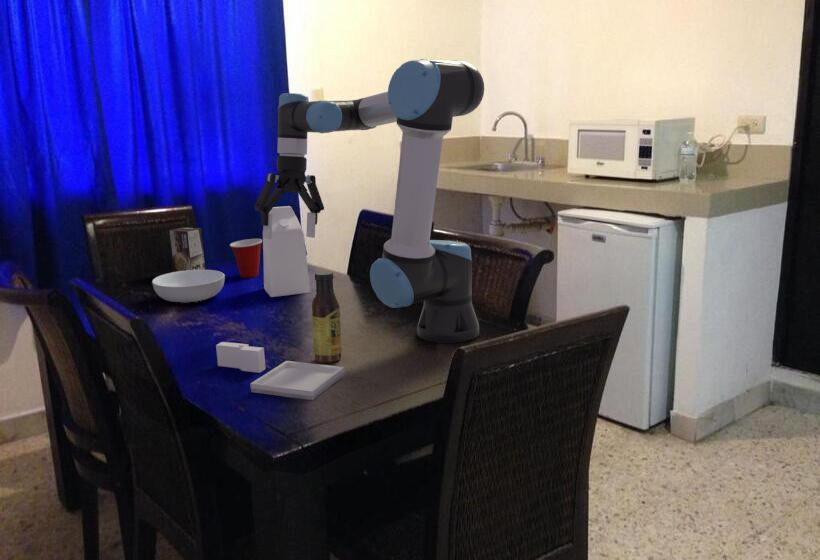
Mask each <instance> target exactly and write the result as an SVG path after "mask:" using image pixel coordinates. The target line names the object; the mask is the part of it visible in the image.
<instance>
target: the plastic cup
mask: <svg viewBox="0 0 820 560" xmlns="http://www.w3.org/2000/svg"><path fill="white" fill-rule="evenodd" d="M262 244H263V239H261V238H250V239H241V240H236V241H234V242H231V243H230V244H229V246H230V247H231V249H232V251H233V254H234V257H235V261H236V264H237V268H238V271H239V275H240V277H241V278H243V279H252V278H256V277H258V276H259V270H260V262H261V261H260V260H261V249H262Z"/></svg>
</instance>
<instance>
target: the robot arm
mask: <svg viewBox="0 0 820 560" xmlns="http://www.w3.org/2000/svg"><path fill="white" fill-rule="evenodd" d="M388 83H389V84H388V88H387V91H384V92H380V93H377V94H374V95H369V96H366V97H362V98H358V99H351V100H316V101H315V100H314V101H312V100H311V101H310V100H309V96H308V95H306V94H303V93H292V92H291V93H287V92H285V93H281V94H280V96H279V98H278V100H279V101H278V107H277V121H278V122H277V153H278V154H279V155H277V157H276V171H277V175H276V174H274V173H266V177H265V183H264V185H263V187H262V189H261V192H260V193H259V196H258V197H257V200H256V203H255V204H254V210H255V211H258V212H260V213H261V215H260V216H261V218H260V223H261V226H263V227H262V228H263V229H262V239H263V238H265V239H272V213H269V212H270V211H271V209H272V208H273V207H275V205H276V204H277V203H278V202H279V200H280V198H281V197H282V196H283V195H284V194H285V193H286V192H287V193H298V195H299V197H300V199H302V202H304V204H305V205H306V208H307V209H308V210H309V211H308V212H307V213H306V236H305V237H308V238H312V239H313V238H315V237H316V225H317V224H318V214H320V213H321V211H324V210H325V206H324V203H323V201H322V198H321V194H320V191H319V189H318V186H317V183H316V176H315V175H314V174H313V175H312V174H307V175H306V171H307V161H308V160H307V159H308V158H307V157H306V155H308V133H319V134H330V133H333V132H345V131H368V130H371V129H375V128H377V127H379V126H384V125H388V124H392V123H396V125H397V127H399V130H400V131H401V132H402V136H401V143H400V144H401V145H400V155H399V164H398V172H397V182H396V183H397V184H396V191H395V192H396V193H395V199H394V200H395V202H394V209H393V220H392V226H391V227H392V229H391V238H389V239H388V240H387V241H385V243H384V244H383V247H382V248H383V249H382V257H381V258H380V257H379V258H377V260H375V261H374V262H373V263H372V264H371V266H370V271H369V277H370V278H369V279H370V284H371V287H372V289H373V291H374V293H375V295H376V297H377V298H378V300H379V301H381V302H382V304H385V306H387V307H390V308H393V309H394V308H396V309H397V308H402V307H410V306H411V305H413V304H417V303H420V302H423V306H422V310H421V313H420V317H419V320H418V322H417V336H418V337H419V338H420V339H422V340H424V341H427V342H431V343H437V344H439V343H440V344H455V342H458V343H464V342H467V341H466V340H469V341H472V340H474V339H476V338H478V336H479V335H480V323H479V320H478V318H477V315H476V312H475V311H476V310H475V308H474V305H473V301H472V300H473V298H472V297H473V295H472V291H473V289H472V288H473V285H472V283H473V282H472V280H473V279H472V278H473V276H472V273H473V272H472V270H473V269H472V268H473V267H472V263H473V259H472V249H471V247H470V245H469V244H467V243H466V242H463V241H462V242H460V241H455V240H443V239H442V240H441V239H431V235H432V233H431V232H432V227H433V218H434V217H433V216H434V210H435V209H434V208H435V203H436V202H435V201H436V196H437V195H436V193H437V186H438V179H439V171H440V162H441V156H442V155H441V154H442V149H443V148H442V147H443V139H444V137H445V136H446V135H447V134H448V133H449V132H451V130H452V127H453V126H452V125H453V118H454V117H456V118H457V117H462V116H466V115H469V114H470V113H472V112H474V111H475V110H476V109H477V108H478V107H479V106H480V105H481V102H482V101H483V98H484V94H485V81H484V78H483V76H482V74H481V73H480V71H479V70H478V69H477V68H476V67H475V66H474V65H472V64H471V63H469V62H467V61H463V60H455V59H454V60H447V59H446V60H443V59H427V58H425V59H424V58H421V59H414V60H408V61H406V62H403V63H402V64H401V65H400V66H399V67H398V68H397V69H396V70H394V72H393V74H392V75H391V78H390V81H389V82H388ZM276 183H277V185H276V186H275V184H276ZM305 183H306V185H305ZM306 186H307V187H306ZM471 339H472V340H471ZM463 341H464V342H463Z"/></svg>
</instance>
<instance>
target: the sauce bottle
mask: <svg viewBox="0 0 820 560" xmlns="http://www.w3.org/2000/svg"><path fill="white" fill-rule="evenodd" d="M314 279H315V287H316V289H315V292H316V294H315V296H314V297H313V299H312V303H311V322H312V323H311V324H312V341H313V342H312V345H313V353H314V360H315V361H316V362H318V363H320V364H321V363H322V364H330V363H334V362H338V361H340V360H341V359H342V352H343V351H342V349H343V347H342V345H343V343H342V326H341V325H342V323H341V307H340V304H339V302H338V299H337V297H336V294H335V290H334V281H333V280H334V272H332V271H327V270H326V271H318V272H315V273H314Z"/></svg>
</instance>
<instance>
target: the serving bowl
mask: <svg viewBox="0 0 820 560" xmlns="http://www.w3.org/2000/svg"><path fill="white" fill-rule="evenodd" d="M225 276H226V275H225V274H224V273H223V272H221V271H219V270H213V269H205V270H187V271H178V272H174V271H172V272H169V273H164V274H160V275H158V276H156V277H155V278H153V279H152V281H151V285H152V287H153V291H155V293H156V294H157V295H158V296H159V297H160V298H161V299H163V300H165V301H167V302H173V303H178V302H180V303H179V304H191V303H190V302H195V303H199V302H198V301H200V302H203V301H206V300H208V299H211V298H213V297H214V296H217V295H218V293H220V292H221V291H222V289H223V288H224V284H225V279H226V277H225ZM202 300H203V301H202Z"/></svg>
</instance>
